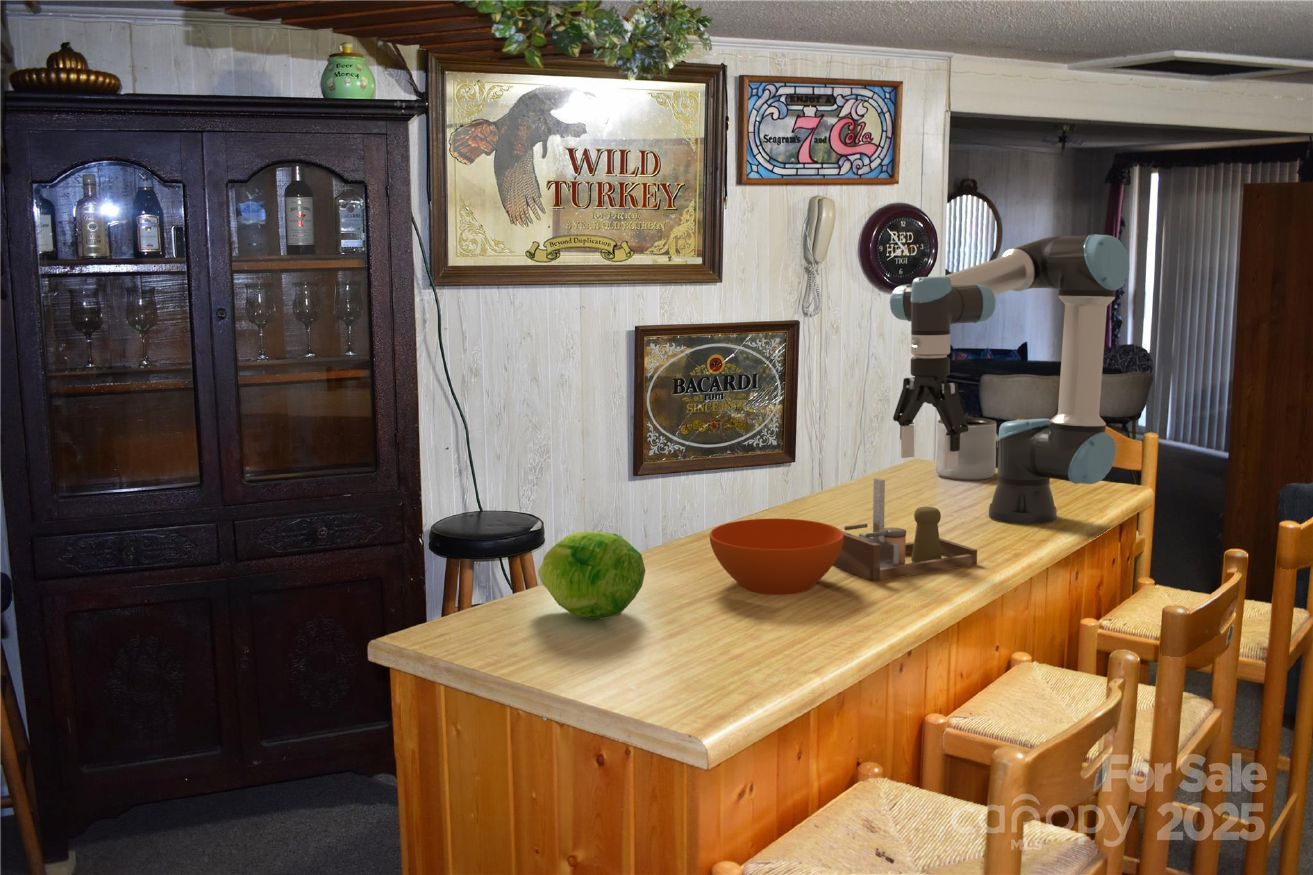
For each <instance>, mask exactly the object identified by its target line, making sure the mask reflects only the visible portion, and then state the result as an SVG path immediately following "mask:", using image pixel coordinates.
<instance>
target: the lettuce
mask: <svg viewBox="0 0 1313 875" xmlns="http://www.w3.org/2000/svg"><path fill="white" fill-rule="evenodd" d="M645 574H646V568H645V564H644V560H643V555H642V554H641V553H640V552H639V551H638V550H637V549H636V548H635V547H634V546H633V545H632V544H631V543H629V541H628V540H626V539H625V538H624V537H622V536H620V535H619V534H617V533H611V532H597V531H596V532H595V531H578V532H573V533H572V534H568V535H566V536H565V537H564V538H562V539H561V540H560V541H558V542H557V543H556V544H554V546H552V547H551V548H550V549H549V550H548V551H547V552H546V553H545V555H544V556H543V559H542V562H541V565H540V567H539V568H538V573H537V575H538V577H539V579H540V582H541V584H542V585H543V586H544V588H545V589H547V591H548V592H549V594H550V595H551V597H552V598H553V599H554V601H555V603H557V605H558V606H559V607H561V608H562V609H563V610H566V611H567V612H569V613H570V614H572V615H574V616H575V617H580V618H585V619H590V620H595V619H599V620H603V619H606V618H612V617H616V616H619V615H621V614H622V612H624V611H625V610H626V609H627V607H628V606H629V605H630V604H631V603H632V602H633V601H634V600H635V599H636V597H637V595H638V593H639V592H640V591H641V588H642V587H643V584H644V579H645Z"/></svg>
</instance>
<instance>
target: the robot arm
mask: <svg viewBox="0 0 1313 875" xmlns="http://www.w3.org/2000/svg"><path fill="white" fill-rule="evenodd" d="M1129 274H1130V259H1129V254H1128V251H1127V249H1126V247H1125V246H1124V245H1123V243H1122V242H1121V241H1120V240H1119V239H1118V238H1117V237H1115V236H1112V235H1109V234H1097V233H1095V234H1084V235H1081V234H1080V235H1054V236H1049V237H1044V238H1041V239H1038V240H1034V241H1031V242H1027V243H1025V244H1023V245H1019V246H1017V247H1015V248H1010V249H1008V250H1006V251H1005V252H1003V254H1002V255H1001V256H1000V257H997V258H995V259H992V260H989V261H988V260H987V261H986V262H983V263H980V264H976V265H973V266H970V267H967V268H964V269H962V270H958V271H955V272H952V273H949V274H946V275H943V276H920V277H919V276H918V277H915V278H914V279H913V281H912V282H911V283H907V284H901V285H898V286H897V287H895V288H894V289H893V290H892V292H891V294H890V298H889V308H890V312H891V313H892V315H893V316H894V317H895V318H896V319H898V320H900V321H901V320H902V321H907V322H910V325H911V326H910V328H911V330H910V334H911V336H910V338H911V339H910V353H911V355H913V356H912V357H911V358H910V375H911V376H912V377H904V378H903V380H902V381H903V382H902V389H901V393H900V396H899V399H898V402H897V405H896V408H895V411H894V414H893V417H892V420H893V421H894V422H897V423H898V425H899V426H900V427H899V428H900V429H899V430H900V432H899V433H900V435H899V438H900V442H901V443H900V457H901V459H906V458H907V459H908V458H914V457H915V425H914V424H915V423H914V420H915V418H916V416H917V415H918V413H919V412H920V410H921V409H922V407H923V405H924V403H927V405H932V407H934V408H935V409H936V411H937V414H938V415H939V418H940V420H941V419H942V422H943V424H944V426H945V428H946V430H947V433H946V435H945V467H944V468H955V467H958V451H959V450H960V435H961V433H964V432H968V425H967V422H966V419H965V417H966V415H965V413H964V409H963V406H962V402H961V399H960V396H959V388H958V386H959V385H958V383H957V382H950V383H949V382H947V381H946V378H947V377H948V376H950V373H951V372H950V371H951V370H950V368H951V358H950V357H949V356H948V355H950V353H951V325H954V324H969V323H970V324H971V323H972V324H977V323H979V322H985V321H988V319H990V318H991V317H992V316H993V314H994V312H995V310H996V303H997V302H996V296H997V295H1001V294H1002V293H1006V292H1008V291H1015V292H1022V291H1023V292H1024V291H1025V290H1029V289H1056V290H1058V298H1059V299H1060V300H1061V302H1062V303H1063V304H1064V319H1063V333H1062V346H1061V347H1062V348H1061V349H1062V350H1061V362H1060V363H1061V364H1060V374H1059V375H1060V377H1059V393H1058V403H1057V404H1058V405H1057V406H1058V408H1057V414H1056V415H1054V416H1053V417H1052V418H1030V419H1017V420H1016V419H1015V420H1009V421H1008V420H1007V421H1005V422H1002V423H1001V424H1000V426H999V429H998V430H999V431H998V439H997V480H996V481H997V482H996V488H995V491H994V493H993V496H992V500H991V503H989V506H988V517H989V518H990V519H992V520H995V521H999V522H1002V523H1009V524H1018V525H1041V524H1042V525H1043V524H1049V523H1053V522H1055V521H1057V517H1058V515H1057V512H1058V510H1057V507H1056V506H1055V501H1054V496H1053V493H1052V490H1051V484H1050V482H1051V481H1050V480H1051V479H1053V480H1059V481H1065V482H1069V483H1073V484H1074V485H1075V484H1076V485H1078V484H1084V485H1093V484H1094V485H1095V484H1098V483H1099V482H1100V481H1102V480H1103V479H1105V478H1106V476H1107V474H1109V472H1110V471H1111V469H1112V468H1113V465H1114V463H1115V458H1116V453H1117V446H1116V442H1115V440H1114V438H1113V437H1112V436H1111V434H1109V433H1108V432H1106V431H1107V430H1106V426H1107V423H1106V422H1105V421H1104V419H1103V418H1102V417H1101V416H1100V411H1101V410H1100V406H1101V392H1102V378H1103V366H1104V352H1105V338H1106V335H1105V334H1106V324H1107V323H1106V322H1107V313H1108V312H1107V310H1108V306H1109V305H1110V304H1111V303H1112V302H1113V301H1114V300H1115V299H1116V292H1117V290H1119V289H1121V288H1122V287H1123V286H1124V285H1126V281H1127V280H1128V278H1129ZM960 425H961V426H960ZM952 427H953V428H952Z"/></svg>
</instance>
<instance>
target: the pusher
mask: <svg viewBox="0 0 1313 875" xmlns="http://www.w3.org/2000/svg"><path fill="white" fill-rule="evenodd" d="M885 492H886V480H885V479H884V478H879V477H878V478H873V495H872V496H873V504H872V505H873V508H872V510H873V511H872V516H873V517H872V533H874V532H881V531H884V528H885V506H886V504H885V501H886V500H885V499H886V497H885V494H886V493H885ZM865 534H867V533H865V532H862V533H858V537H860V538H863V539H866V540H869V541H872V542H874V543H877V544H880V568H884V567H890V566H897V565H899V545H897V544H895V543H892V542H889V541H886V540H884V535H883V536H876V537H869V538H866V536H865Z"/></svg>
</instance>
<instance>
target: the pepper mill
mask: <svg viewBox="0 0 1313 875" xmlns="http://www.w3.org/2000/svg"><path fill="white" fill-rule="evenodd" d="M941 517H942V516H941V511H940V510H939V509H938V508H937V507H933V506H920V507H918V508H916V509H915V510H914V513H913V518H914V521H915V523H916V527H915V535H914V540H913V542H914V546H913V552H912V554H911V559H910V561H911V563H916V562H922V561H928V560H935V559H941V558H943V557H942V555H941V548H940V540H939V538H940V532H939V523H940V522H941Z"/></svg>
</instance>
